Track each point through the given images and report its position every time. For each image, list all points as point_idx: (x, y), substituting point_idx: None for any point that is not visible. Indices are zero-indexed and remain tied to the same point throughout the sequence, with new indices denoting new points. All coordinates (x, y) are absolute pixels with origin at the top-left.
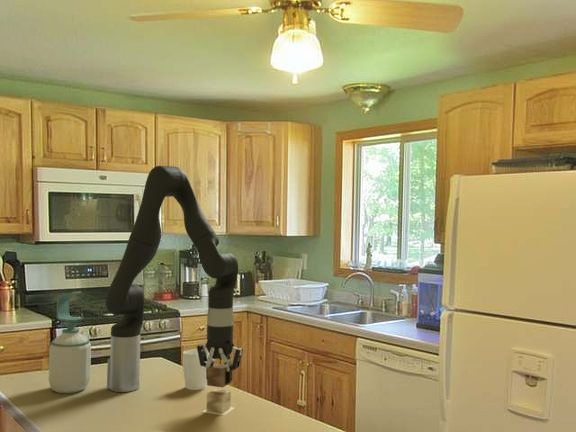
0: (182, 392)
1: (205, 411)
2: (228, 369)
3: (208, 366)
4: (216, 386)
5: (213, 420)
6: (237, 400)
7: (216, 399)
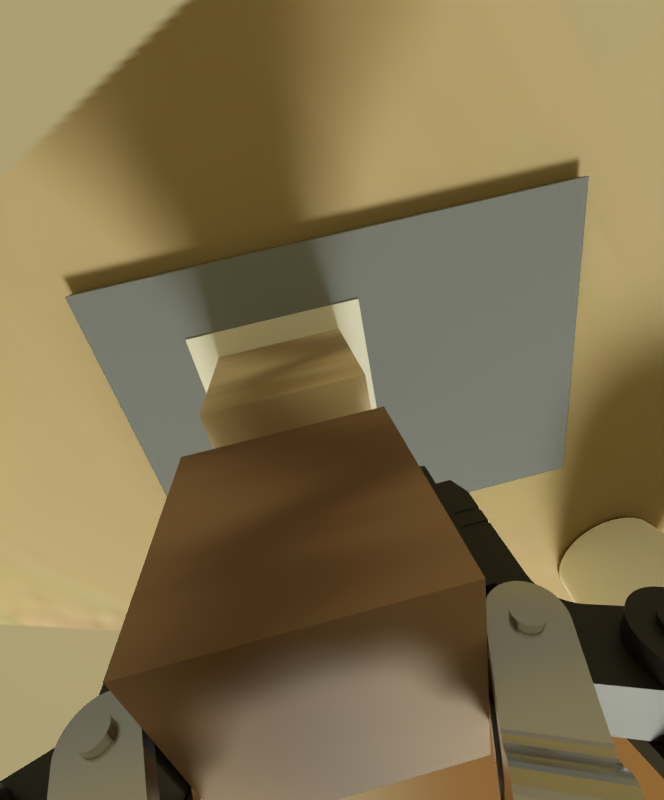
0: (644, 488)
1: (340, 319)
2: (75, 739)
3: (510, 633)
4: (261, 437)
5: (201, 246)
6: None
7: (264, 381)
